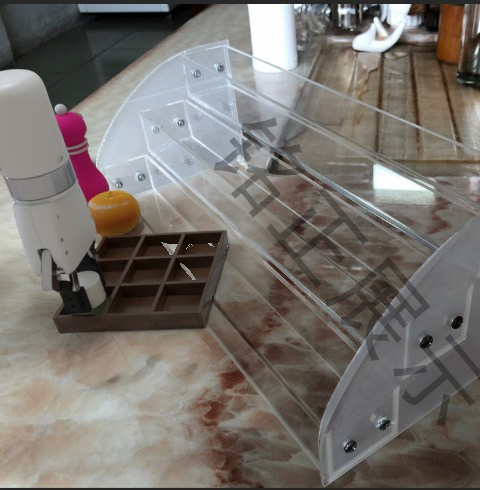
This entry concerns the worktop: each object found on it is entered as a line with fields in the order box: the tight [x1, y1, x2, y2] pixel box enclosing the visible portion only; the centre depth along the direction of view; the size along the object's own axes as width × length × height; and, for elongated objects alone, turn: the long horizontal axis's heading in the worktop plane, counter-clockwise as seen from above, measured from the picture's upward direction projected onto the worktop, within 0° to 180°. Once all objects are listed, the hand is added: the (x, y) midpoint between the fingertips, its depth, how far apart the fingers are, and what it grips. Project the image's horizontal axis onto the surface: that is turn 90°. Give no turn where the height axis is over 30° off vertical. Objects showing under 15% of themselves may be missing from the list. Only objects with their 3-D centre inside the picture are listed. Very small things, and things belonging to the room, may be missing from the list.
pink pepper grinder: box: [54, 103, 110, 204], centre depth 101 cm, size 7×7×20 cm
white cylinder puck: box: [66, 271, 106, 308], centre depth 79 cm, size 5×5×3 cm
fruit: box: [88, 189, 141, 237], centre depth 98 cm, size 8×8×8 cm
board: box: [52, 229, 230, 334], centre depth 86 cm, size 20×20×3 cm
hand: (87, 297), depth 80 cm, fingers closed on white cylinder puck, 4 cm apart
